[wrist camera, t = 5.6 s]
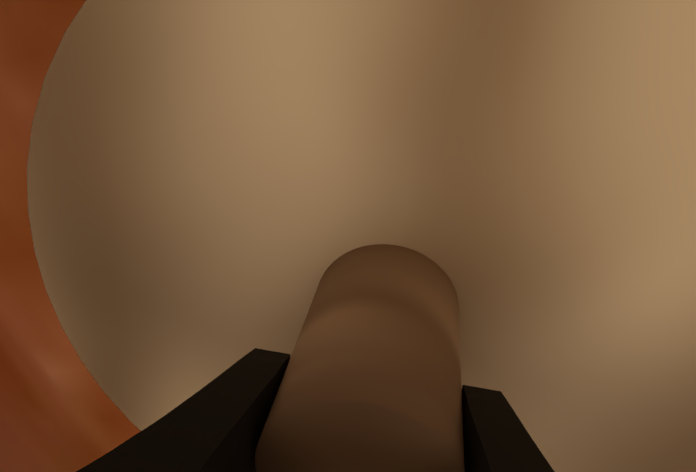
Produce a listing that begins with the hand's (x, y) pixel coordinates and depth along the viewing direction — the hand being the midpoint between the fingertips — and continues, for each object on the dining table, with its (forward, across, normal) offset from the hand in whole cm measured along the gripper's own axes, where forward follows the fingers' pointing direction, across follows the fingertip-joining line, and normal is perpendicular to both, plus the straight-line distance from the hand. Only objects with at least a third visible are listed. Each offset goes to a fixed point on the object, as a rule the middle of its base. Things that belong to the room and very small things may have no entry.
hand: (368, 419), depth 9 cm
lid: (+3, 0, -1) cm, 3 cm away
